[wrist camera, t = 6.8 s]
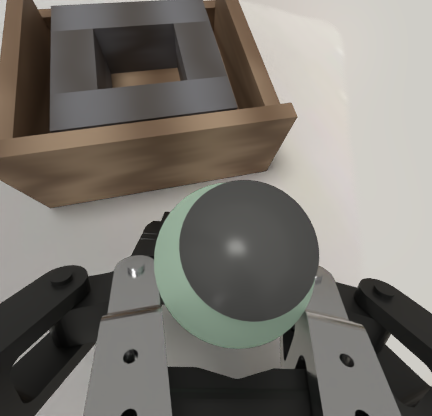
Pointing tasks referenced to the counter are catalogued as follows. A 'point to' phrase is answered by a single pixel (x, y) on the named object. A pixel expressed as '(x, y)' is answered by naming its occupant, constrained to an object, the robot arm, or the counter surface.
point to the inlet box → (132, 98)
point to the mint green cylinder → (236, 263)
